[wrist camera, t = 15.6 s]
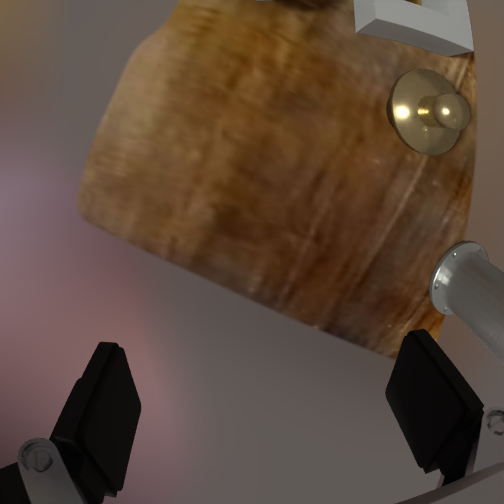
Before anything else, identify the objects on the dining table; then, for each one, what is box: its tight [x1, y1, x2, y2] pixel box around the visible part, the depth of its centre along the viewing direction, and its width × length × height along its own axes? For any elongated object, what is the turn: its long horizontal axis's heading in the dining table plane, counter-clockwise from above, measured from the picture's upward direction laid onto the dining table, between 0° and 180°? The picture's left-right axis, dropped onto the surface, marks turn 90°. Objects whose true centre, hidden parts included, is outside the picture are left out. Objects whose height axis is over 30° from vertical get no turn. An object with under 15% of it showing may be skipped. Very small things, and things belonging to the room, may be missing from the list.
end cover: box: [386, 69, 470, 155], centre depth 28 cm, size 10×10×10 cm
